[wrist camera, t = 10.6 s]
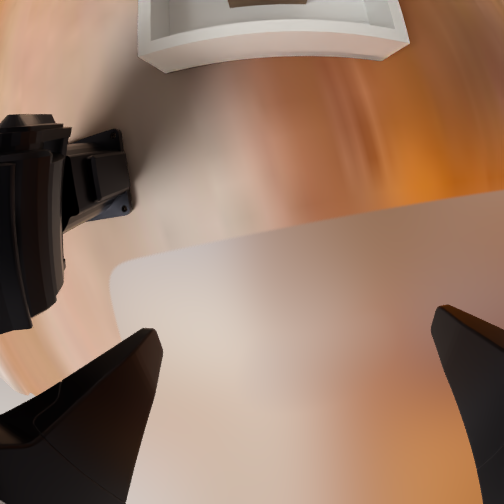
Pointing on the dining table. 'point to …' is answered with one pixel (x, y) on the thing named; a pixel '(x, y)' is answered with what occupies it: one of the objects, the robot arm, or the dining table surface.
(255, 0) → the walnut block
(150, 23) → the bin
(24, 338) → the dining table surface
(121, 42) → the dining table surface
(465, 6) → the dining table surface
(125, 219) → the dining table surface
